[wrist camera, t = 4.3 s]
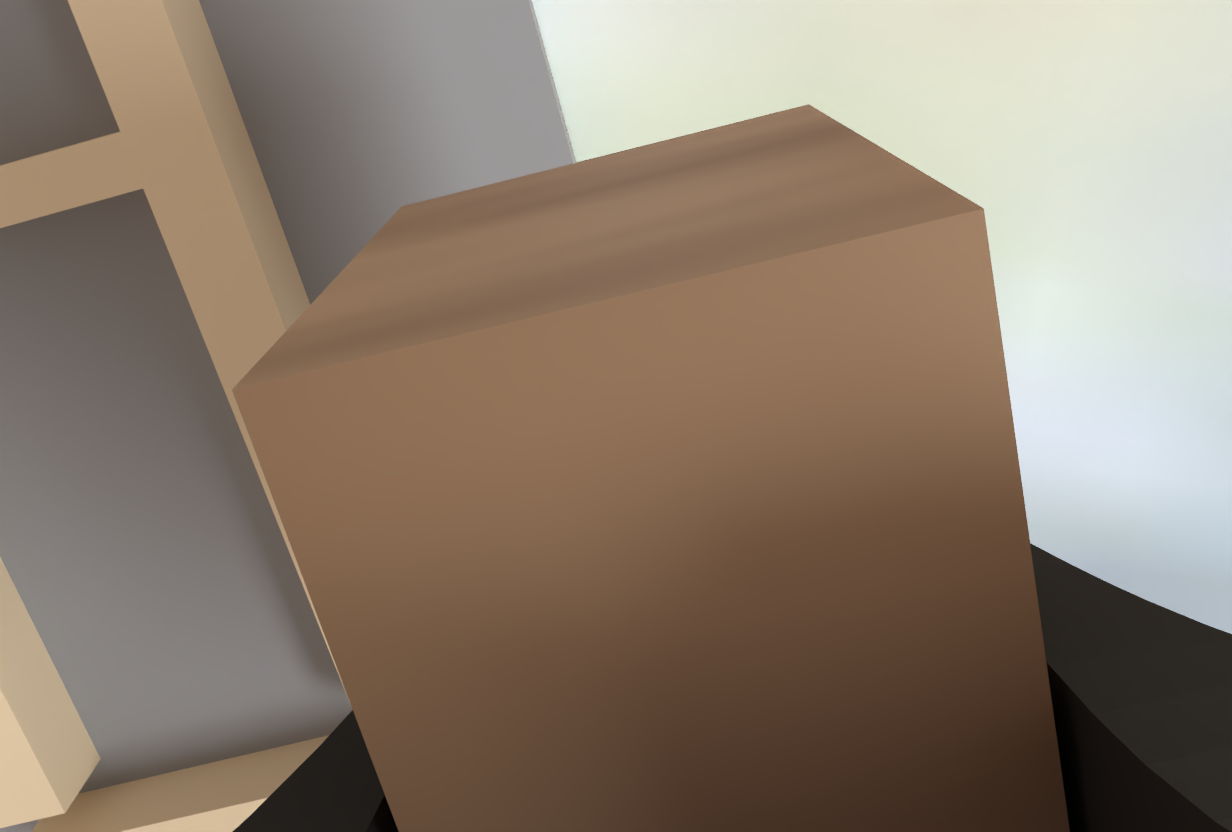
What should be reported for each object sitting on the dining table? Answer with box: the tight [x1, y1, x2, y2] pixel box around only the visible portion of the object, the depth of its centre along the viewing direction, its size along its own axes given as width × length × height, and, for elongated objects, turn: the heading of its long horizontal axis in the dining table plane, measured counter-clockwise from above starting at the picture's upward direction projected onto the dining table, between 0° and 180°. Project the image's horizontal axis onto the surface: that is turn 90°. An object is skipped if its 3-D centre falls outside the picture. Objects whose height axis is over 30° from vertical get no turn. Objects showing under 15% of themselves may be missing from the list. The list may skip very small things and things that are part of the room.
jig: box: [0, 0, 576, 832], centre depth 18 cm, size 19×17×2 cm
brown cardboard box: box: [232, 105, 1070, 832], centre depth 10 cm, size 9×4×6 cm, turn 14°
